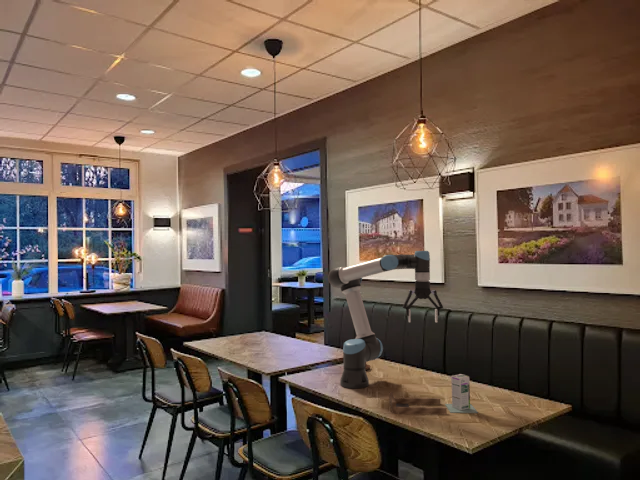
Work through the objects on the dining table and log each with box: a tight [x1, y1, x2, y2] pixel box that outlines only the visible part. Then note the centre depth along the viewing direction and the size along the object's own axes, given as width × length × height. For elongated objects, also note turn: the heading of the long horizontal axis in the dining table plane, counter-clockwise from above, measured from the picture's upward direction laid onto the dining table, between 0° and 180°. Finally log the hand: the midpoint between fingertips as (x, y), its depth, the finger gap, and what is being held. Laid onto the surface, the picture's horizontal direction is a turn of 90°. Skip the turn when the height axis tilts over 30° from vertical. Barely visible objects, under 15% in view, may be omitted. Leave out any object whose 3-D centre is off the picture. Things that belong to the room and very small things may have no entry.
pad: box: [444, 403, 479, 414], centre depth 223 cm, size 12×12×1 cm
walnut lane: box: [388, 391, 448, 415], centre depth 224 cm, size 24×15×5 cm, turn 87°
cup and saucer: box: [365, 362, 371, 371], centre depth 300 cm, size 12×12×6 cm
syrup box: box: [450, 373, 471, 410], centre depth 223 cm, size 6×6×14 cm
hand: (422, 322), depth 253 cm, fingers open, 13 cm apart
